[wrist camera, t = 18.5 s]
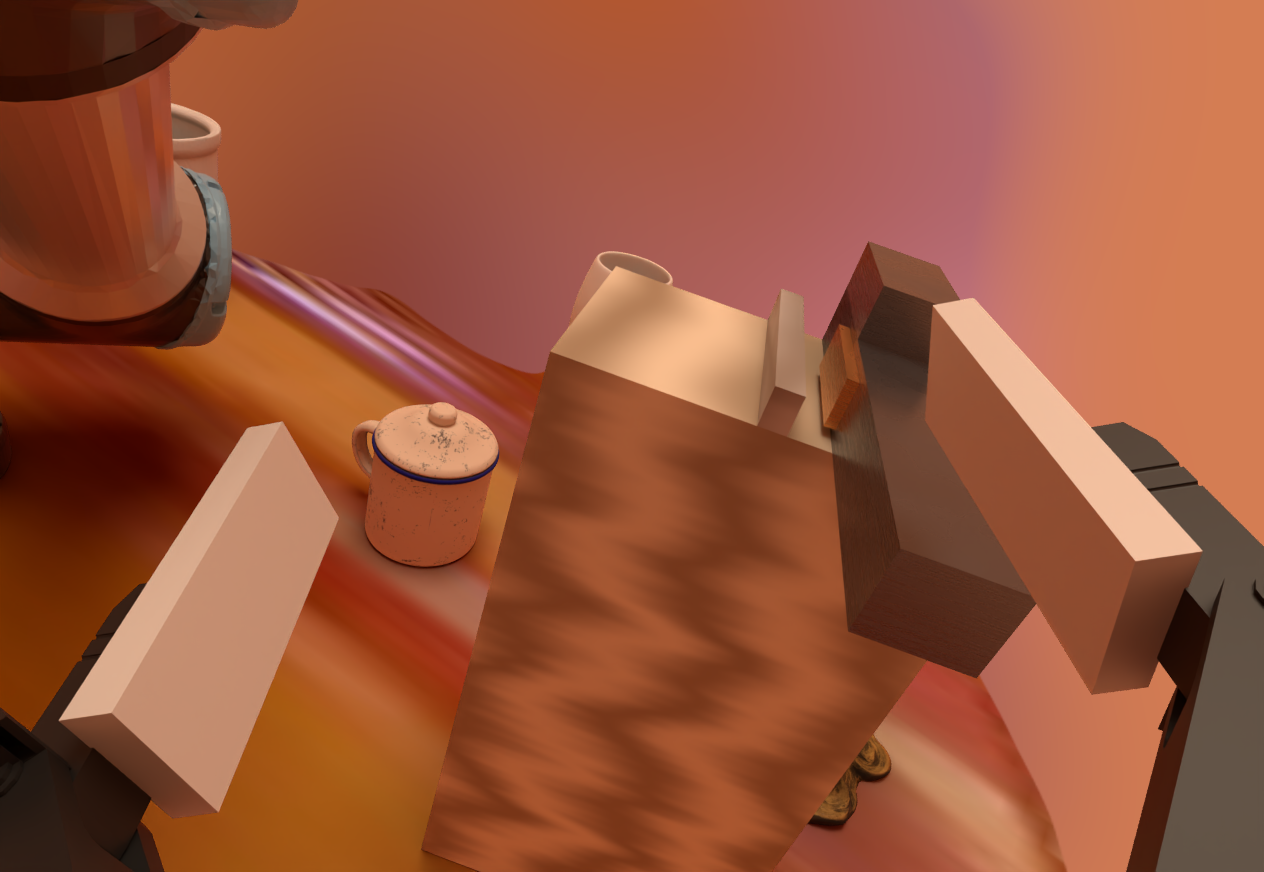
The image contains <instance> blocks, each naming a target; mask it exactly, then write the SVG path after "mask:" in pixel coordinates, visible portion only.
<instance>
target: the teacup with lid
mask: <svg viewBox="0 0 1264 872" xmlns="http://www.w3.org/2000/svg"><path fill="white" fill-rule="evenodd" d="M368 432H370V433H372V434H373V436H372V445H373V449H374V456H373V459H372V457H371V455H370V453H369V450H368V446H367V433H368ZM352 448H353V453H354V456H355V459H356V461H357V463H358V465H359V467H360V468H361V470H362V471H363V472H364V473H365V474H366V475H367V476H368V477H369V478H370V486H369V494H368V502H367V510H366V517H365V531H366V534H367V537H368V539H369V540H370V542H371V543H372V545H373V546H374V547H375V548H376V549H377V550H378V551H379V552H381V553H382V554H383V555H385V556H387V557H388V558H390V559H392V560H395V561H397V562H400V563H403V564H407V565H413V566H424V567H428V566H439V565H443V564H447V563H450V562H453V561H455V560H457V559H459V558H461V557H462V556H464V555H465V554H466V553H467V552H468V551H469V550H470V549H471V548H472V546H473V545H474V543H475V541H476V538H477V534H478V529H479V525H480V521H481V517H482V512H483V508H484V504H485V500H486V495H487V491H488V487H489V483H490V478H491V474H492V470H493V469H494V467H495V466H496V464H497V462H498V459H499V449H498V443H497V440H496V438H495V436H494V434H493V433H492V431H491V430H490V429H489V428H488V427H487V426H486V425H485V424H484V423H483V422H482V421H480V420H479V419H477V418H475V417H474V416H472V415H470V414H468V413H465V412H463V411H460V410H457V409H455V407H454V406H452V405H450V404H448V403H443V402H439V403H435V404H433V405H413V406H407V407H403V408H400V409H397V410H395V411H393V412H391V413H389V414H388V415H386V416H385V417H384V418H383V419H382V420H381V421H380V422H379V421H375V420H369V421H365V422H363V423H361V424H359V425H358V426H357V427H356V428H355V429H354V431H353V435H352Z"/></svg>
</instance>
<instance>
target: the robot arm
mask: <svg viewBox="0 0 1264 872" xmlns="http://www.w3.org/2000/svg"><path fill="white" fill-rule="evenodd" d="M297 3H298V0H0V341H5V342H34V343H62V344H90V345H118V346H146V347H155V348H157V349H173V348H176V347H181V346H201V345H205V344H207V343H209V342H211V341H212V340H214V339H215V338H216V336H217V335H218V334H219V332H220V331H221V329H222V326H223V324H224V321H225V317H226V311H227V305H226V301H227V300H228V298H229V292H230V285H231V269H232V242H231V241H232V240H231V226H230V225H231V224H230V216H229V209H228V205H227V201H226V198H225V195H224V193H223V191H222V188H221V186H220V184H219V183H218V182H217V181H216V180H215V179H214V178H212V177H211V176H208V175H206V174H202V173H197V172H194V171H193V170H191V169H187V168H183V167H182V166H179V165H178V164H177V163H176V162H175V161H174V160H173V140H172V117H171V95H170V71H169V63H171V62H173V61H174V60H175V59H176V58H177V57H178V56H179V55H180V54H181V53H182V52H183V51H184V50H185V49H186V48H187V47H188V46H190V45H191V44H192V43H193V41H194V40H195V39H196V37H197V36H198V35H199V33H200V32H201V30H202V29H203V28H206V29H210V30H221V29H226V28H228V27H230V26H233V25H240V26H247V27H254V28H264V29H267V28H272V27H276V26H278V25H280V24H282V23H284V22H285V21H287V20H288V19H289V18H290V17H291V16H292V14H293V12H294V11H295V9H296V7H297ZM925 421H926V423H927V424H928V426H929V428H930V429H931V431H932V433H933V434H934V436H935V438H936V439H937V441H938V443H939V444H940V446H941V448H942V449H943V451H944V452H945V454H946V456H947V457H948V459H949V461H950V462H951V464H952V466H953V467H954V469H955V471H956V472H957V474H958V475H959V477H960V479H961V480H962V482H963V484H964V485H965V487H966V489H967V490H968V492H969V494H970V495H971V497H972V499H973V500H974V502H975V503H976V505H977V507H978V508H979V510H980V512H981V513H982V515H983V517H984V518H985V520H986V522H987V523H988V525H989V527H990V528H991V530H992V531H993V533H994V535H995V536H996V538H997V540H998V541H999V543H1000V545H1001V546H1002V548H1003V550H1004V551H1005V553H1006V554H1007V556H1008V558H1009V559H1010V561H1011V563H1012V564H1013V566H1014V568H1015V569H1016V571H1017V573H1018V574H1019V576H1020V578H1021V579H1022V581H1023V582H1024V584H1025V586H1026V587H1027V589H1028V591H1029V592H1030V594H1031V596H1032V597H1033V599H1034V601H1035V602H1036V604H1037V605H1038V607H1039V609H1040V610H1041V612H1042V614H1043V615H1044V617H1045V619H1046V620H1047V622H1048V624H1049V625H1050V627H1051V629H1052V630H1053V632H1054V633H1055V635H1056V637H1057V638H1058V640H1059V642H1060V643H1061V645H1062V646H1063V648H1064V650H1065V652H1066V653H1067V655H1068V656H1069V658H1070V660H1071V661H1072V663H1073V665H1074V666H1075V668H1076V670H1077V671H1078V673H1079V675H1080V676H1081V678H1082V679H1083V681H1084V683H1085V684H1086V686H1087V688H1088V689H1089V691H1090V693H1091V694H1092V695H1093V694H1100V693H1108V692H1115V691H1122V690H1130V689H1138V688H1145V687H1148V686H1149V684H1150V681H1151V679H1152V676H1153V674H1154V672H1155V669H1156V666H1157V664H1158V662H1160V663H1161V665H1162V666H1163V667H1164V669H1165V670H1166V671H1167V673H1168V674H1169V676H1170V677H1171V678H1172V680H1173V681H1174V683H1175V684H1176V685H1177V687H1176V689H1175V691H1174V694H1173V696H1172V698H1171V701H1170V703H1169V705H1168V707H1167V710H1166V712H1165V714H1164V716H1163V719H1162V721H1161V723H1160V725H1159V728H1158V729H1159V730H1162V731H1163V733H1162V737H1161V741H1160V744H1159V748H1158V752H1157V756H1156V760H1155V764H1154V767H1153V771H1152V775H1151V779H1150V783H1149V787H1148V790H1147V794H1146V798H1145V802H1144V806H1143V810H1142V813H1141V817H1140V821H1139V825H1138V829H1137V833H1136V837H1135V840H1134V844H1133V848H1132V852H1131V856H1130V859H1129V863H1128V867H1127V871H1126V872H1264V546H1263V545H1262V544H1261V543H1259V542H1258V541H1257V540H1256V539H1255V537H1254V536H1252V535H1251V533H1250V532H1249V531H1248V530H1247V529H1245V527H1244V526H1243V525H1242V524H1240V523H1239V522H1238V520H1237V519H1235V518H1234V517H1233V516H1232V515H1231V514H1230V513H1229V512H1228V511H1227V510H1226V509H1225V508H1224V507H1223V506H1222V505H1221V504H1220V503H1219V502H1218V501H1217V500H1216V499H1215V498H1214V497H1213V496H1212V495H1211V494H1210V493H1209V492H1208V491H1207V490H1206V489H1205V488H1204V487H1203V486H1199V485H1198V481H1197V480H1196V479H1195V478H1194V477H1193V476H1192V475H1191V474H1190V473H1189V472H1188V471H1187V470H1186V469H1185V468H1184V467H1180V466H1179V462H1178V461H1177V460H1176V459H1175V458H1174V457H1173V456H1172V455H1171V454H1170V453H1169V452H1168V451H1167V450H1166V449H1165V448H1164V447H1163V446H1162V445H1161V444H1160V443H1159V442H1158V441H1157V440H1156V439H1154V438H1152V437H1150V436H1149V435H1147V434H1145V433H1143V432H1141V431H1139V430H1137V429H1135V428H1133V427H1131V426H1129V425H1128V424H1126V423H1124V422H1121V423H1115V424H1109V425H1103V426H1097V427H1090V426H1089V425H1088V424H1087V422H1085V420H1084V419H1083V418H1082V417H1081V416H1080V415H1079V414H1078V413H1077V412H1076V410H1075V409H1074V408H1073V407H1072V406H1071V405H1070V404H1069V403H1068V402H1067V401H1066V399H1065V398H1064V397H1063V396H1062V395H1061V394H1060V393H1059V392H1058V391H1057V389H1056V388H1055V387H1054V386H1053V385H1052V384H1051V383H1050V382H1049V381H1048V379H1047V378H1046V377H1045V376H1044V375H1043V374H1042V373H1041V372H1040V371H1039V369H1038V368H1037V367H1036V366H1035V365H1034V364H1033V363H1032V362H1031V361H1030V360H1029V358H1028V357H1026V355H1025V354H1024V353H1023V352H1022V351H1021V350H1020V348H1019V347H1018V346H1017V345H1016V344H1015V343H1014V342H1013V341H1012V340H1011V339H1010V337H1009V336H1008V335H1007V334H1006V333H1005V332H1004V331H1003V330H1002V329H1001V327H1000V326H999V325H998V324H997V323H996V322H995V321H994V320H993V319H992V318H991V316H990V315H989V314H988V313H987V312H986V311H985V310H984V309H983V308H982V307H981V305H980V304H979V303H978V302H977V301H976V300H975V299H974V298H970V299H965V300H959V301H953V302H948V303H942V304H937V305H933V308H932V323H931V338H930V353H929V368H928V382H927V397H926V412H925ZM11 456H12V450H11V444H10V439H9V433H8V428H7V424H6V421H5V419H4V417H3V415H2V413H1V411H0V479H1V477H2V476H3V475H4V473H5V472H6V470H7V468H8V466H9V464H10V461H11ZM338 519H339V517H338V516H337V514H336V512H335V511H334V509H333V507H332V505H331V504H330V502H329V500H328V499H327V497H326V495H325V493H324V492H323V490H322V488H321V487H320V485H319V483H318V481H317V480H316V478H315V476H314V475H313V473H312V471H311V469H310V468H309V466H308V464H307V463H306V461H305V459H304V457H303V456H302V454H301V452H300V451H299V449H298V447H297V446H296V444H295V442H294V440H293V439H292V437H291V435H290V434H289V432H288V430H287V428H286V427H285V425H284V423H283V422H278V423H272V424H267V425H261V426H256V427H250V428H247V429H246V431H245V433H244V434H243V436H242V437H241V439H240V440H239V442H238V443H237V445H236V446H235V448H234V450H233V451H232V453H231V454H230V456H229V457H228V459H227V460H226V462H225V464H224V465H223V467H222V468H221V470H220V471H219V473H218V474H217V476H216V477H215V479H214V481H213V482H212V484H211V485H210V487H209V488H208V490H207V491H206V493H205V495H204V496H203V498H202V499H201V501H200V502H199V504H198V505H197V507H196V508H195V510H194V512H193V513H192V515H191V516H190V518H189V519H188V521H187V522H186V524H185V526H184V527H183V529H182V530H181V532H180V533H179V535H178V536H177V538H176V539H175V541H174V543H173V544H172V546H171V547H170V549H169V550H168V552H167V553H166V555H165V557H164V558H163V560H162V561H161V563H160V564H159V566H158V567H157V569H156V570H155V572H154V574H153V575H152V577H151V578H150V580H149V581H148V583H145V584H139V585H138V586H137V587H136V588H135V589H134V590H133V591H132V592H131V593H130V594H129V595H127V596H126V597H125V598H124V599H123V600H122V601H121V602H120V603H119V604H118V605H117V606H116V607H115V608H114V609H113V610H112V611H111V613H110V614H109V616H108V617H107V619H106V620H105V622H104V623H103V625H102V626H101V628H100V629H99V631H98V632H97V634H96V640H92V641H91V643H90V644H89V646H88V647H87V649H86V650H85V652H84V653H83V655H82V661H80V662H77V664H76V665H75V667H74V668H73V670H72V671H71V673H70V674H69V676H68V677H67V679H66V680H65V682H64V683H63V685H62V686H61V688H60V689H59V691H58V692H57V694H56V695H55V697H54V698H53V700H52V701H51V703H50V704H49V706H48V707H47V709H46V710H45V712H44V713H43V715H42V716H41V718H40V719H39V721H38V722H37V724H36V725H35V727H34V728H33V730H32V731H31V732H30V731H29V730H27V729H26V728H25V727H24V726H22V725H21V724H20V723H19V722H17V721H16V720H15V719H14V718H13V717H11V716H10V715H9V714H8V713H6V712H5V711H4V710H3V709H2V708H0V872H164V869H163V866H162V863H161V860H160V857H159V854H158V851H157V848H156V845H155V842H154V839H153V836H152V833H151V832H150V831H149V830H148V828H147V827H146V826H145V825H144V824H143V823H141V822H140V821H141V819H142V816H143V814H144V812H145V810H146V808H147V806H148V804H149V802H150V800H152V801H153V802H154V803H155V804H156V805H157V806H159V807H160V808H161V809H162V810H163V811H164V812H166V813H167V814H168V815H169V816H170V817H171V818H179V817H187V816H194V815H202V814H209V813H216V812H219V810H220V807H221V805H222V802H223V800H224V797H225V795H226V793H227V790H228V788H229V785H230V783H231V780H232V778H233V776H234V773H235V771H236V768H237V766H238V763H239V761H240V758H241V756H242V754H243V751H244V749H245V746H246V744H247V741H248V739H249V736H250V734H251V732H252V729H253V727H254V724H255V722H256V719H257V717H258V714H259V712H260V710H261V707H262V705H263V702H264V700H265V697H266V695H267V692H268V690H269V688H270V685H271V683H272V680H273V678H274V675H275V673H276V670H277V668H278V666H279V663H280V661H281V658H282V656H283V653H284V651H285V648H286V646H287V644H288V641H289V639H290V636H291V634H292V631H293V629H294V627H295V624H296V622H297V619H298V617H299V614H300V612H301V609H302V607H303V605H304V602H305V600H306V597H307V595H308V592H309V590H310V587H311V585H312V583H313V580H314V578H315V575H316V573H317V570H318V568H319V565H320V563H321V561H322V558H323V556H324V553H325V551H326V548H327V546H328V543H329V541H330V539H331V536H332V534H333V531H334V529H335V526H336V524H337V521H338Z"/></svg>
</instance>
